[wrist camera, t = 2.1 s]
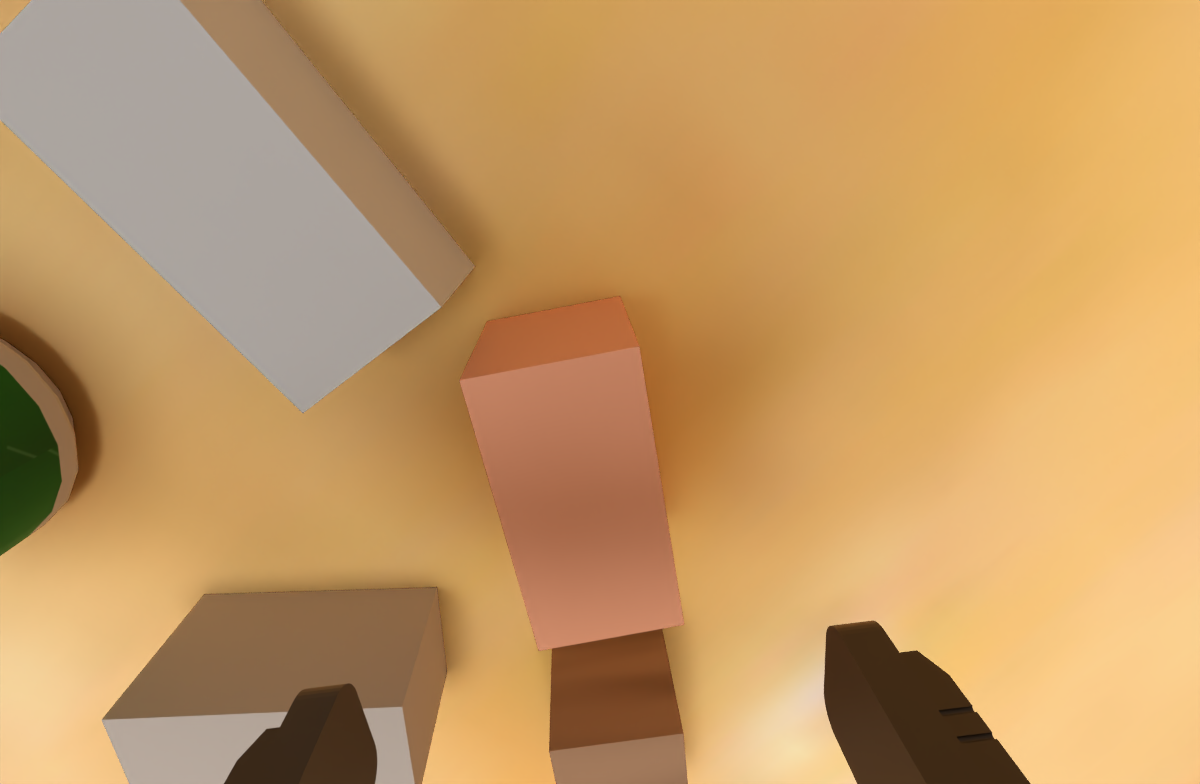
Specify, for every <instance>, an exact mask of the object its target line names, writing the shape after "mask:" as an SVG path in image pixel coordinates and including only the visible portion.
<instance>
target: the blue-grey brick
mask: <svg viewBox="0 0 1200 784" xmlns="http://www.w3.org/2000/svg"><path fill="white" fill-rule="evenodd" d="M0 120H1V121H2V122H3V123H4V124H5V125H6V126H7V127H8V128H9V129H10V130H11V131H12V132H13V133H14V134H15V135H16V136H17V137H18V138H19V139H20V140H21V141H22V142H23V143H24V144H25V145H26V146H27V147H29V148H30V149H31V150H32V151H33V152H34V153H35V154H36V155H37V156H38V157H39V158H40V159H41V160H42V161H43V162H44V163H45V164H46V165H47V166H48V167H49V168H50V169H51V170H52V171H53V172H54V173H55V174H56V175H57V176H58V177H59V178H61V179H62V180H63V181H64V182H65V183H66V184H67V185H68V186H69V187H70V188H71V189H72V190H73V191H74V192H75V193H76V194H77V195H78V196H79V197H80V198H81V199H82V200H83V201H84V202H85V203H86V204H87V205H88V206H89V207H90V208H91V209H93V210H94V211H95V212H96V213H97V214H98V215H99V216H100V217H101V218H102V219H103V220H104V221H105V222H106V223H107V224H108V225H109V226H110V227H111V228H112V229H113V230H114V231H115V232H116V233H117V234H118V235H119V236H120V237H121V238H122V239H123V240H125V241H126V242H127V243H128V244H129V245H130V246H131V247H132V248H133V249H134V250H135V251H136V252H137V253H138V254H139V255H140V256H141V257H142V258H143V259H144V260H145V261H146V262H147V263H148V264H149V265H150V266H151V267H152V268H153V269H154V270H155V271H156V272H158V273H159V274H160V275H161V276H162V277H163V278H164V279H165V280H166V281H167V282H168V283H169V284H170V285H171V286H172V287H173V288H174V289H175V290H176V291H177V292H178V293H179V294H180V295H181V296H182V297H183V298H184V299H185V300H186V301H187V302H188V303H190V304H191V305H192V306H193V307H194V308H195V309H196V310H197V311H198V312H199V313H200V314H201V315H202V316H203V317H204V318H205V319H206V320H207V321H208V322H209V323H210V324H211V325H212V326H213V327H214V328H215V329H216V330H217V331H218V332H219V333H220V334H222V335H223V336H224V337H225V338H226V339H227V340H228V341H229V342H230V343H231V344H232V345H233V346H234V347H235V348H236V349H237V350H238V351H239V352H240V353H241V354H242V355H243V356H244V357H245V358H246V359H247V360H248V361H249V362H250V363H251V364H252V365H254V366H255V367H256V368H257V369H258V370H259V371H260V372H261V373H262V374H263V375H264V376H265V377H266V378H267V379H268V380H269V381H270V382H271V383H272V384H273V385H274V386H275V387H276V388H277V389H278V390H279V391H280V392H281V393H282V394H283V395H284V396H285V397H287V398H288V399H289V400H290V401H291V402H292V403H293V404H294V405H295V406H296V407H297V408H298V409H299V410H300V411H301V412H302V413H304V412H305V411H307V410H308V409H309V408H310V407H312V406H313V405H314V404H316V403H317V402H318V401H320V400H321V399H322V398H324V397H325V396H326V395H327V394H329V393H330V392H331V391H333V390H334V389H335V388H337V387H338V386H339V385H341V384H342V383H343V382H344V381H346V380H347V379H348V378H350V377H351V376H352V375H354V374H355V373H356V372H358V371H359V370H360V369H361V368H363V367H364V366H365V365H367V364H368V363H369V362H371V361H372V360H373V359H375V358H376V357H377V356H378V355H380V354H381V353H382V352H384V351H385V350H386V349H388V348H389V347H390V346H392V345H393V344H394V343H395V342H397V341H398V340H399V339H401V338H402V337H403V336H405V335H406V334H407V333H409V332H410V331H411V330H412V329H414V328H415V327H416V326H418V325H419V324H420V323H422V322H423V321H424V320H426V319H427V318H428V317H429V316H431V315H432V314H433V313H435V312H436V311H437V310H439V309H440V308H441V307H442V306H443V305H444V304H445V302H446V301H447V300H448V299H449V298H450V296H451V295H452V294H453V293H454V292H455V290H456V289H457V288H458V287H459V285H460V284H461V283H462V282H463V281H464V279H465V278H466V277H467V276H468V275H469V273H470V272H471V271H472V270H473V268H474V267H475V265H474V264H473V263H472V262H471V261H470V259H469V258H468V257H467V256H466V254H465V253H464V252H463V251H462V249H461V248H460V247H459V246H458V244H457V243H456V242H455V241H454V239H453V238H452V237H451V236H450V234H449V233H448V232H447V231H446V229H445V228H444V227H443V226H442V224H441V223H440V222H439V221H438V219H437V218H436V217H435V216H434V215H433V213H432V212H431V211H430V210H429V208H428V207H427V206H426V205H425V203H424V202H423V201H422V200H421V198H420V197H419V196H418V195H417V193H416V192H415V191H414V190H413V188H412V187H411V186H410V185H409V183H408V182H407V181H406V180H405V178H404V177H403V176H402V175H401V173H400V172H399V171H398V170H397V169H396V167H395V166H394V165H393V164H392V162H391V161H390V160H389V159H388V157H387V156H386V155H385V154H384V152H383V151H382V150H381V149H380V147H379V146H378V145H377V144H376V142H375V141H374V140H373V139H372V137H371V136H370V135H369V134H368V132H367V131H366V130H365V129H364V128H363V126H362V125H361V124H360V123H359V121H358V120H357V119H356V118H355V116H354V115H353V114H352V113H351V111H350V110H349V109H348V108H347V106H346V105H345V104H344V103H343V101H342V100H341V99H340V98H339V96H338V95H337V94H336V93H335V91H334V90H333V89H332V88H331V86H330V85H329V84H328V83H327V82H326V80H325V79H324V78H323V77H322V75H321V74H320V73H319V72H318V70H317V69H316V68H315V67H314V65H313V64H312V63H311V62H310V60H309V59H308V58H307V57H306V55H305V54H304V53H303V52H302V50H301V49H300V48H299V47H298V45H297V44H296V43H295V42H294V40H293V39H292V38H291V37H290V36H289V34H288V33H287V32H286V31H285V29H284V28H283V27H282V26H281V24H280V23H279V22H278V21H277V19H276V18H275V17H274V16H273V14H272V13H271V12H270V11H269V9H268V8H267V7H266V6H265V4H264V3H263V2H262V1H261V0H31V1H30V2H29V4H28V5H27V6H26V7H25V8H24V9H23V10H22V11H21V12H20V13H19V14H18V15H17V16H16V17H15V18H14V19H13V20H12V22H11V23H10V24H9V25H8V26H7V27H6V28H5V29H4V30H3V31H2V32H1V33H0Z"/></svg>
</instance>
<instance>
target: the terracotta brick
mask: <svg viewBox="0 0 1200 784" xmlns="http://www.w3.org/2000/svg"><path fill="white" fill-rule="evenodd" d="M459 381H460V384H461V388H462V391H463V395H464V398H465V401H466V405H467V408H468V412H469V415H470V419H471V422H472V425H473V429H474V432H475V436H476V439H477V442H478V446H479V449H480V453H481V456H482V459H483V463H484V466H485V470H486V473H487V476H488V480H489V483H490V487H491V490H492V493H493V497H494V500H495V504H496V507H497V511H498V514H499V517H500V521H501V524H502V528H503V531H504V534H505V538H506V541H507V545H508V548H509V551H510V555H511V558H512V562H513V565H514V568H515V572H516V575H517V579H518V582H519V585H520V589H521V592H522V596H523V599H524V603H525V606H526V609H527V613H528V616H529V620H530V623H531V626H532V630H533V633H534V637H535V640H536V643H537V647H538V650H539V651H541V650H547V649H552V648H558V647H563V646H569V645H574V644H580V643H586V642H591V641H597V640H602V639H608V638H613V637H619V636H624V635H630V634H635V633H641V632H647V631H652V630H658V629H663V628H669V627H674V626H680V625H684V620H683V614H682V607H681V601H680V595H679V589H678V583H677V576H676V570H675V564H674V558H673V552H672V545H671V539H670V533H669V527H668V521H667V515H666V508H665V502H664V496H663V490H662V484H661V477H660V471H659V465H658V459H657V453H656V446H655V440H654V434H653V428H652V422H651V415H650V409H649V403H648V397H647V391H646V385H645V378H644V372H643V366H642V360H641V354H640V347H639V344H638V342H637V339H636V336H635V334H634V331H633V329H632V326H631V323H630V321H629V318H628V316H627V313H626V310H625V308H624V305H623V303H622V300H621V297H620V296H617V297H612V298H607V299H602V300H596V301H591V302H586V303H581V304H575V305H570V306H565V307H560V308H554V309H549V310H544V311H539V312H533V313H528V314H523V315H518V316H513V317H507V318H502V319H497V320H492V321H487V323H486V325H485V327H484V329H483V331H482V333H481V335H480V337H479V340H478V342H477V344H476V346H475V348H474V350H473V352H472V354H471V357H470V359H469V361H468V363H467V365H466V367H465V369H464V371H463V374H462V376H461V378H460V380H459Z"/></svg>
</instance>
